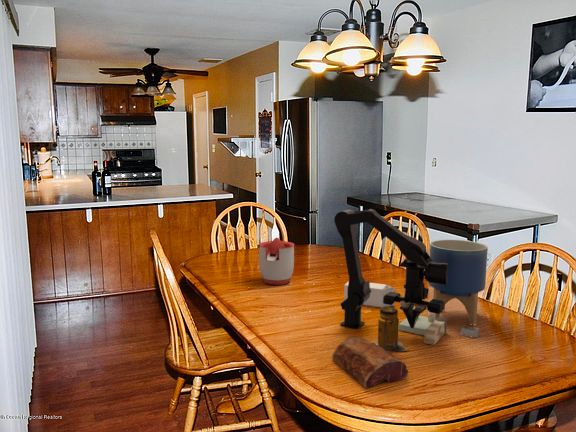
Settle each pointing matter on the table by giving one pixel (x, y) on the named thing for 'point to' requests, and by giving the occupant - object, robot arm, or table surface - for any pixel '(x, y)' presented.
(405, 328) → the stool seat
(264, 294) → the table surface
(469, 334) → the stop block
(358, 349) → the cured meat
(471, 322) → the planter
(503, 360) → the table surface
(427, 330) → the leg
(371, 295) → the milk carton
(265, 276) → the citrus juicer
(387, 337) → the condiment
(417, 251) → the robot arm
